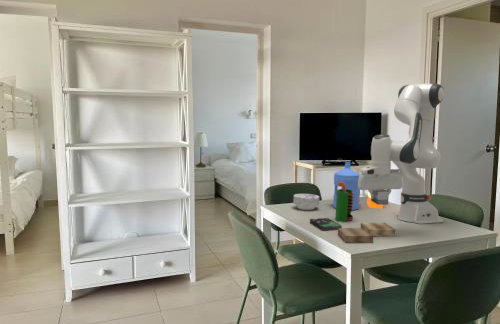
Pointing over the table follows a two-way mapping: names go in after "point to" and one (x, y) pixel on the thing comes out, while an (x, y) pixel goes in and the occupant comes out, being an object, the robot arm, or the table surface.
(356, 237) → the stand
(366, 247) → the table surface
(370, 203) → the orange juice
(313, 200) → the paper bowls
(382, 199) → the block
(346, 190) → the motor
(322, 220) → the disk drive
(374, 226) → the stand
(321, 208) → the table surface
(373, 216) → the table surface
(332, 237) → the table surface
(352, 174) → the water jug
